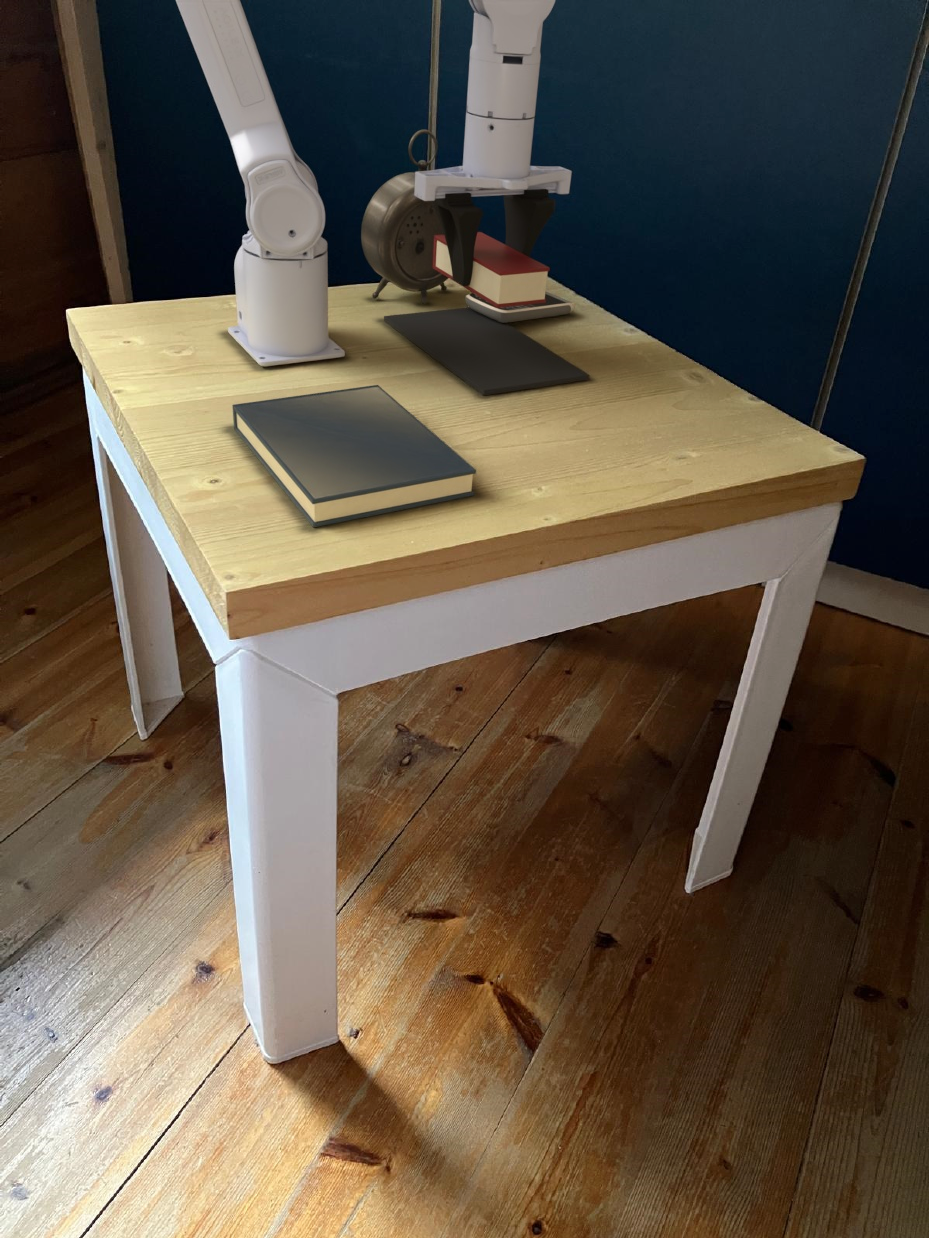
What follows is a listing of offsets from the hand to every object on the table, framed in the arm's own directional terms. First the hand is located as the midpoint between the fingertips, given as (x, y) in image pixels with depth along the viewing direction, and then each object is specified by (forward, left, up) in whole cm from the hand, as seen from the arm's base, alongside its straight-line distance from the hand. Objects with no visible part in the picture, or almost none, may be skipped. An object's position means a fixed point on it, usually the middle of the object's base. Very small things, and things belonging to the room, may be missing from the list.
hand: (486, 280), depth 89 cm
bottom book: (+17, -21, -6) cm, 28 cm away
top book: (0, 0, 0) cm, 0 cm away
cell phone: (-8, +9, -6) cm, 13 cm away
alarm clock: (-16, +1, -7) cm, 17 cm away
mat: (0, 0, -6) cm, 6 cm away
